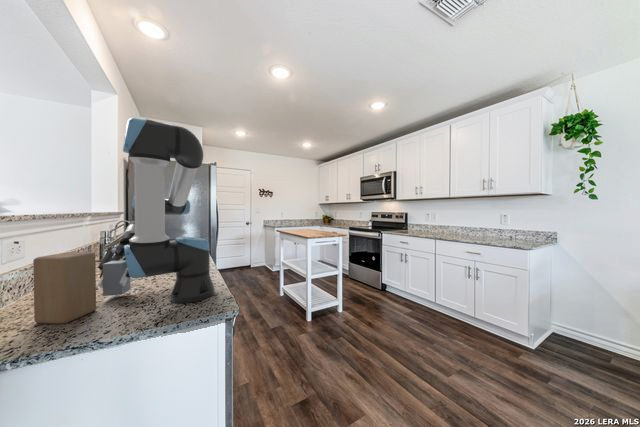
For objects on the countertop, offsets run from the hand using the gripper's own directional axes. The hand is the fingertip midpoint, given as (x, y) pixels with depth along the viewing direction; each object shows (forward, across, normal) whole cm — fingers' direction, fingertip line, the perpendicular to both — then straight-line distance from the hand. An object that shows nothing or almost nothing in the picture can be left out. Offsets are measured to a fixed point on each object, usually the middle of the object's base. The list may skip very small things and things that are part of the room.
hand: (111, 285), depth 87 cm
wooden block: (+13, +6, +4) cm, 15 cm away
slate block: (0, 0, -5) cm, 5 cm away
